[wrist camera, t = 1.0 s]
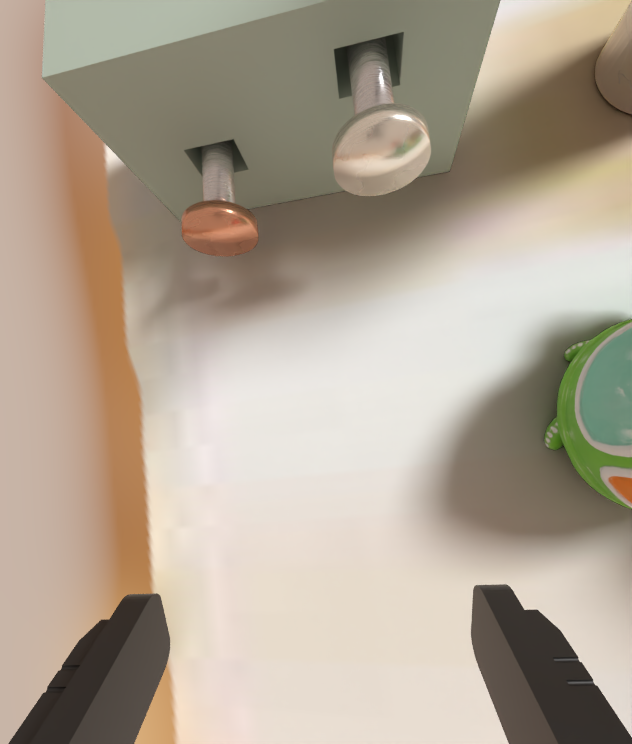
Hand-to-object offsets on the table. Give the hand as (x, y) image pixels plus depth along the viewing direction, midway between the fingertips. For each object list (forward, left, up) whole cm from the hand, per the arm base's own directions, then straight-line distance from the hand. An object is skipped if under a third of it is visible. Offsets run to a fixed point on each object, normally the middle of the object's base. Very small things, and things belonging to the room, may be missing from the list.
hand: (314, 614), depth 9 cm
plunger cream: (-21, -16, -12) cm, 29 cm away
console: (-21, -24, -20) cm, 37 cm away
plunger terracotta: (-13, -24, -17) cm, 32 cm away
